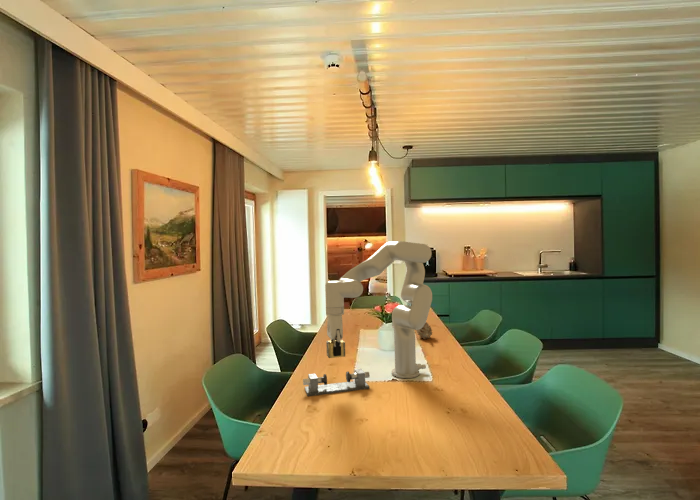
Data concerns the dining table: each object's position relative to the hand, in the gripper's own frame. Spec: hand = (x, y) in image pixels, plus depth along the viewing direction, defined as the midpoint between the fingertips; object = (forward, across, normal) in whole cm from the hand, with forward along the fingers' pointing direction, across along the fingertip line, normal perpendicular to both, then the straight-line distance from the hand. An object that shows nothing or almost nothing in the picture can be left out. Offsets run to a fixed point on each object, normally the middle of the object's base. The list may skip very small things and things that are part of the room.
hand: (335, 353), depth 167 cm
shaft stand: (+15, 0, 0) cm, 15 cm away
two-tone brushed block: (+1, 0, 0) cm, 1 cm away
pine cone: (+15, -61, +69) cm, 94 cm away
